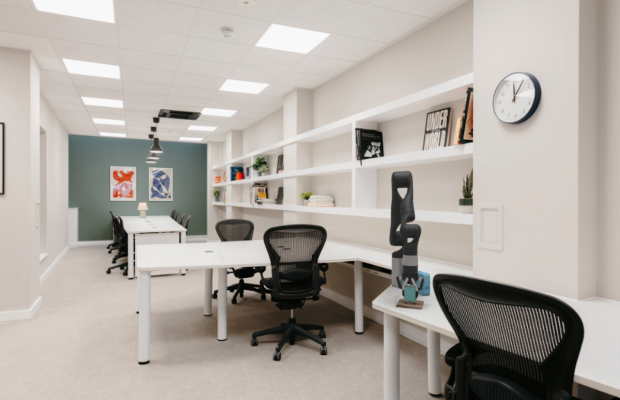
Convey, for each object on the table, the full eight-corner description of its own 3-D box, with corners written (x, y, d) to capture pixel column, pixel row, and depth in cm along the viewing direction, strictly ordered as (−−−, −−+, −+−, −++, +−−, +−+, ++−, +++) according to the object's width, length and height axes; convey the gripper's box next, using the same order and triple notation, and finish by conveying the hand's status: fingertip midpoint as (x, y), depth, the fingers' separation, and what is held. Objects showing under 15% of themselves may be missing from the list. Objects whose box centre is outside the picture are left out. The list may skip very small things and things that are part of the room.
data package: (430, 295, 207) (430, 273, 207) (424, 296, 205) (424, 274, 205) (414, 290, 218) (414, 269, 218) (408, 291, 216) (408, 270, 216)
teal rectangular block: (405, 297, 192) (405, 284, 192) (416, 298, 191) (416, 285, 190) (404, 300, 188) (404, 287, 188) (415, 301, 186) (415, 288, 186)
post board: (399, 300, 197) (399, 286, 197) (423, 302, 193) (423, 288, 192) (396, 306, 186) (396, 291, 186) (421, 309, 181) (421, 294, 181)
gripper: (425, 263, 190) (425, 297, 190) (396, 261, 195) (396, 294, 195) (424, 266, 183) (424, 301, 183) (394, 264, 188) (394, 298, 188)
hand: (410, 297), depth 189 cm, fingers closed on teal rectangular block, 5 cm apart
